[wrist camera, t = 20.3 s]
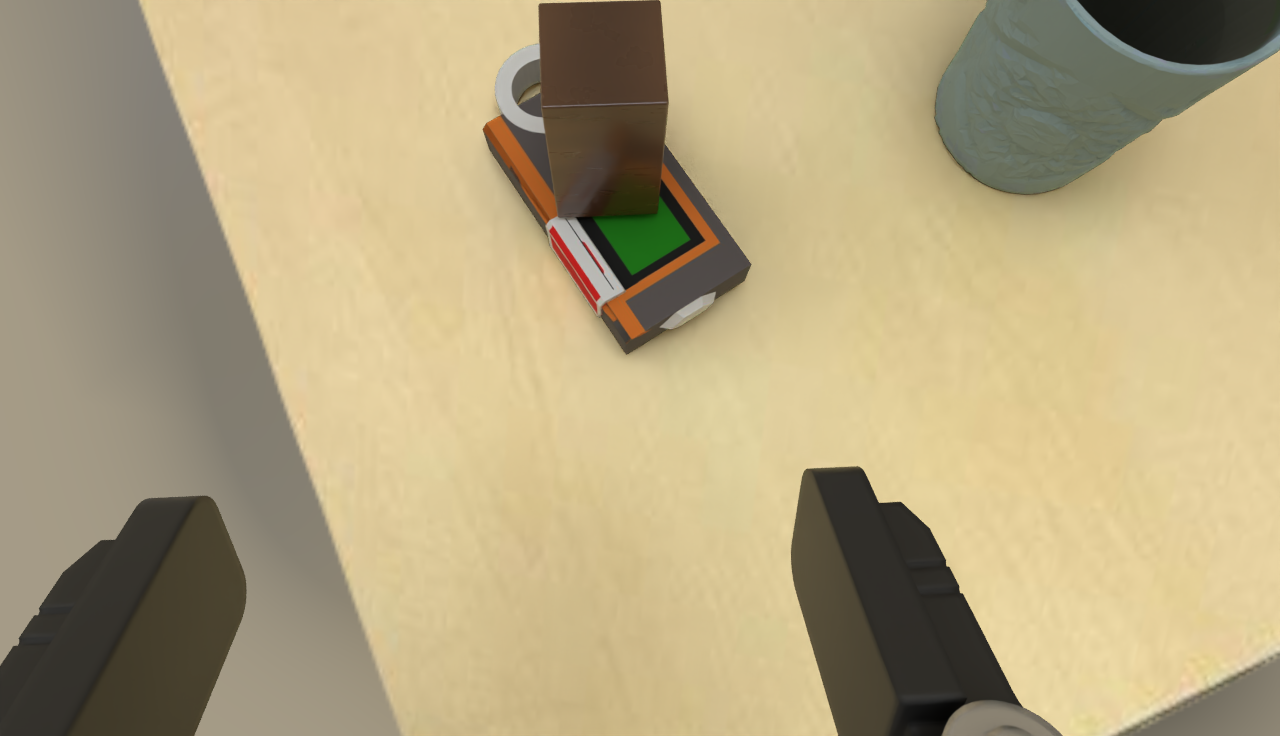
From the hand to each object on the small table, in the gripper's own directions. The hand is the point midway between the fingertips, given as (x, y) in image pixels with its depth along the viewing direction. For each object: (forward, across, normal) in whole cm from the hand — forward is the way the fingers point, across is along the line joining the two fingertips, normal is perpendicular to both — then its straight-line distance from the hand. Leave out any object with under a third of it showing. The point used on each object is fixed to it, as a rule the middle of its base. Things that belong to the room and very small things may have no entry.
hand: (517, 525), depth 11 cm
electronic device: (+29, -2, +7) cm, 30 cm away
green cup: (+31, -23, +4) cm, 39 cm away
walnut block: (+26, -2, +5) cm, 27 cm away
